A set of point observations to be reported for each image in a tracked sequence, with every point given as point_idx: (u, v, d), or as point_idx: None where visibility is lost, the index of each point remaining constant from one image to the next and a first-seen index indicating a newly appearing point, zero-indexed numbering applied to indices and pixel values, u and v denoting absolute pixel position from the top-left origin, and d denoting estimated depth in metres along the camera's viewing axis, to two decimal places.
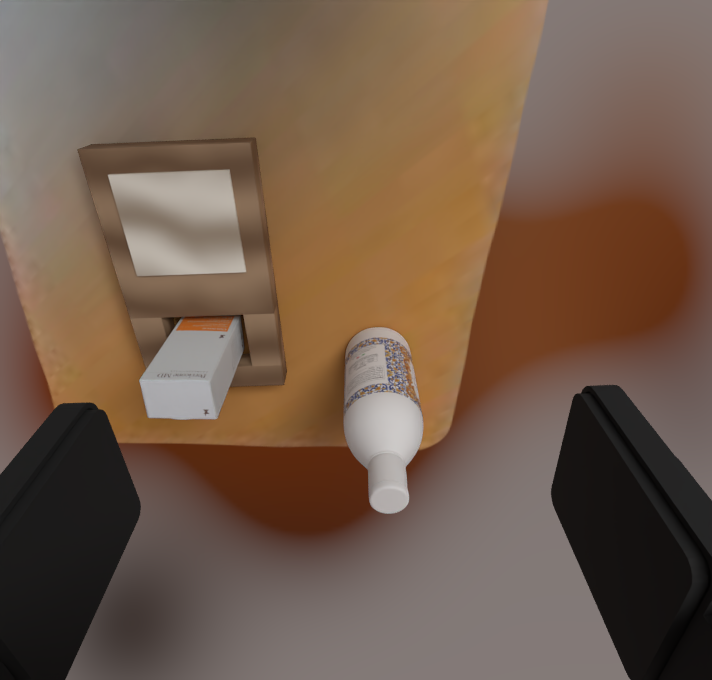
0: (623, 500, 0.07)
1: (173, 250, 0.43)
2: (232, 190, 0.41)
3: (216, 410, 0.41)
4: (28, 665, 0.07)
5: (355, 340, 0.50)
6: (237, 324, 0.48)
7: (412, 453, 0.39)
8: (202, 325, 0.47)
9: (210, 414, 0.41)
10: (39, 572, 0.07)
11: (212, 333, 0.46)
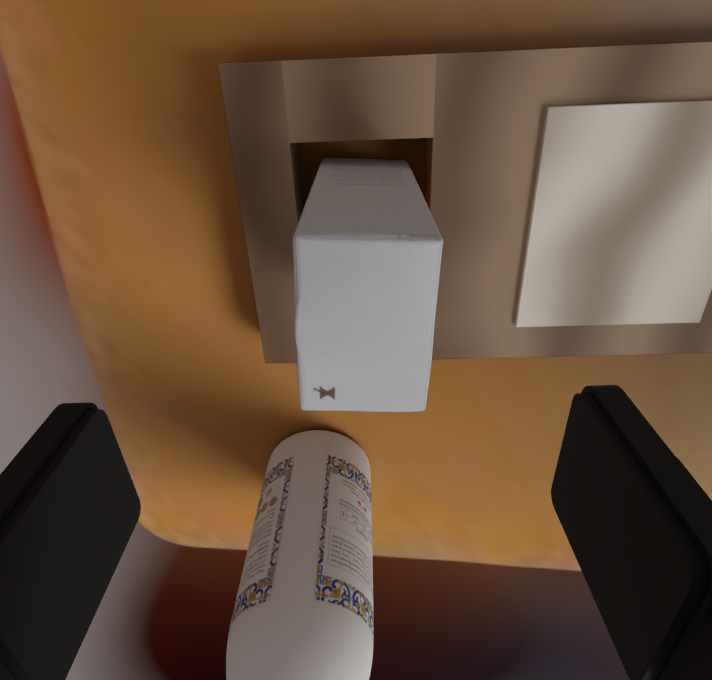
0: (623, 500, 0.07)
1: (588, 204, 0.21)
2: (664, 322, 0.24)
3: (327, 409, 0.16)
4: (28, 665, 0.07)
5: (356, 455, 0.31)
6: None
7: None
8: None
9: (317, 400, 0.15)
10: (39, 572, 0.07)
11: None
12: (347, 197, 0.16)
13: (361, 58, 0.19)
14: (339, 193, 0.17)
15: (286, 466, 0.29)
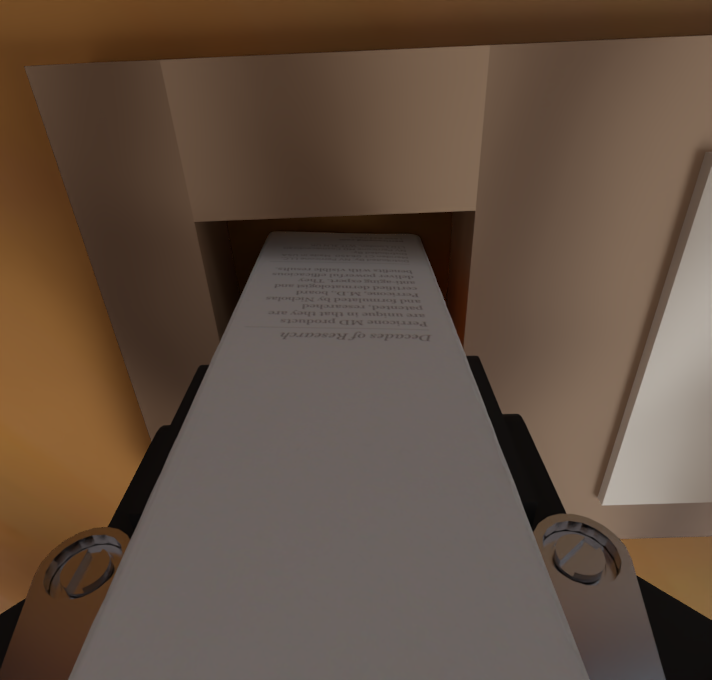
0: None
1: None
2: None
3: None
4: None
5: None
6: None
7: None
8: None
9: None
10: None
11: None
12: (289, 412, 0.06)
13: (330, 55, 0.09)
14: (273, 387, 0.07)
15: None
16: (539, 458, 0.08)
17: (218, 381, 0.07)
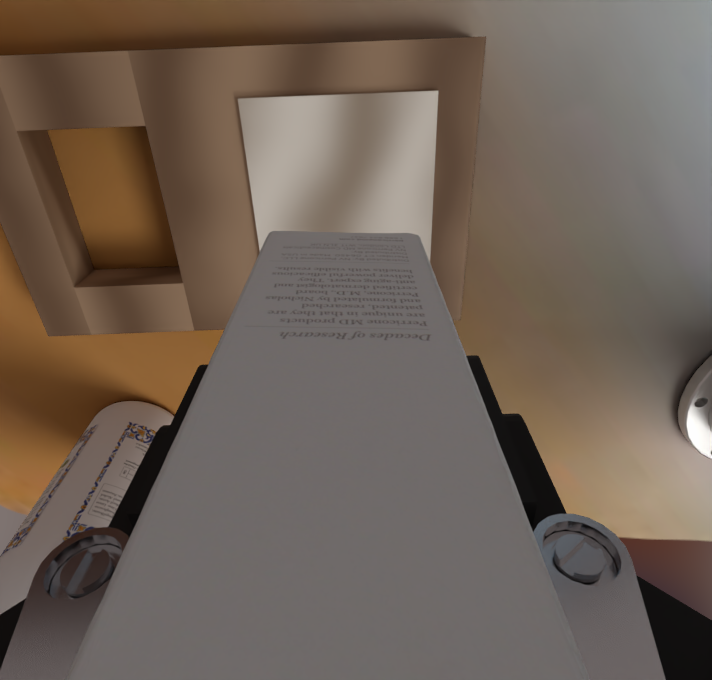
0: None
1: (298, 185, 0.24)
2: None
3: None
4: None
5: (164, 423, 0.33)
6: None
7: None
8: None
9: None
10: None
11: None
12: (288, 412, 0.06)
13: (60, 54, 0.21)
14: (272, 387, 0.07)
15: (88, 433, 0.31)
16: (539, 458, 0.08)
17: (217, 381, 0.07)
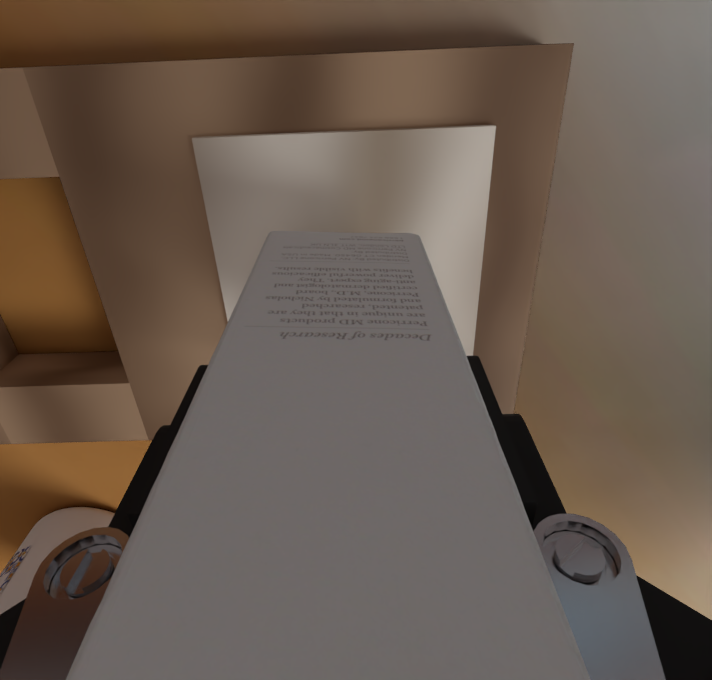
0: None
1: None
2: None
3: None
4: None
5: None
6: None
7: None
8: None
9: None
10: None
11: None
12: (289, 412, 0.06)
13: None
14: (272, 387, 0.07)
15: (17, 558, 0.24)
16: (539, 458, 0.08)
17: (217, 381, 0.07)
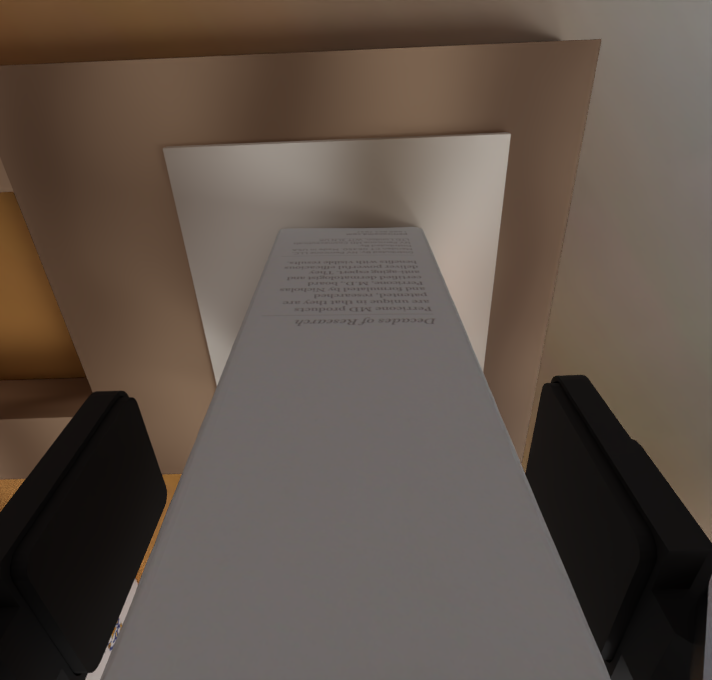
0: (584, 483, 0.08)
1: None
2: None
3: None
4: (72, 639, 0.07)
5: None
6: None
7: None
8: None
9: None
10: (81, 551, 0.08)
11: None
12: (307, 389, 0.07)
13: None
14: (290, 368, 0.07)
15: None
16: (672, 491, 0.08)
17: (240, 364, 0.08)
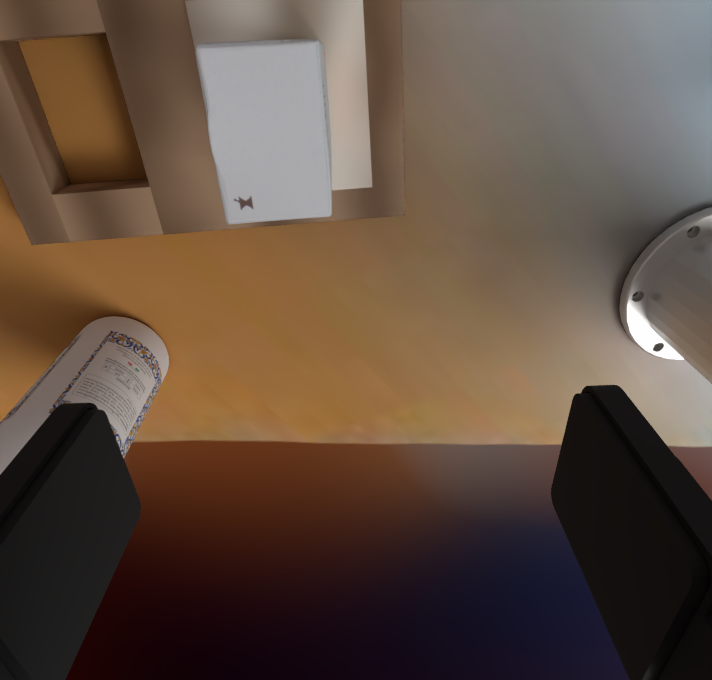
0: (623, 500, 0.07)
1: None
2: (345, 188, 0.30)
3: (249, 222, 0.19)
4: (28, 665, 0.07)
5: (143, 334, 0.36)
6: None
7: None
8: None
9: (239, 211, 0.18)
10: (39, 572, 0.07)
11: None
12: None
13: None
14: None
15: (73, 340, 0.34)
16: None
17: None
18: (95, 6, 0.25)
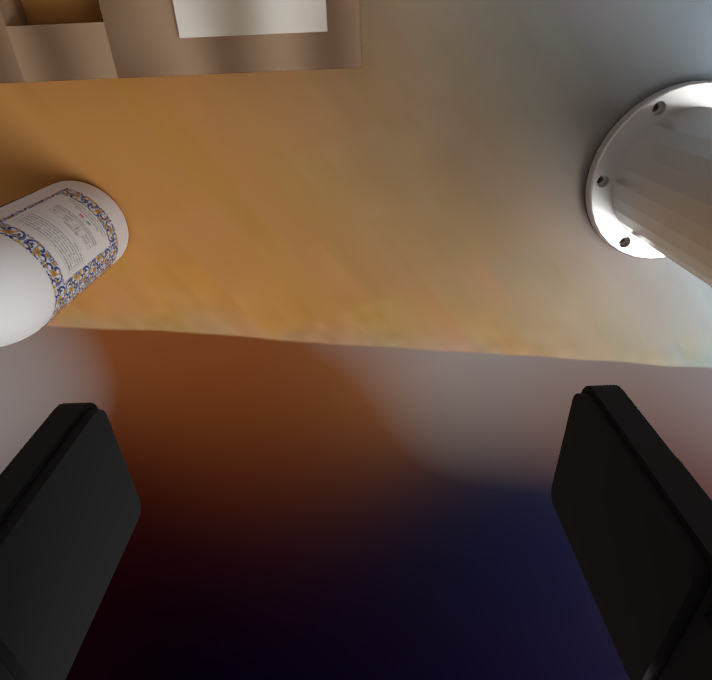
0: (623, 500, 0.07)
1: None
2: (299, 32, 0.30)
3: None
4: (28, 665, 0.07)
5: (100, 198, 0.36)
6: None
7: None
8: None
9: None
10: (39, 572, 0.07)
11: None
12: None
13: None
14: None
15: (28, 195, 0.34)
16: None
17: None
18: None
